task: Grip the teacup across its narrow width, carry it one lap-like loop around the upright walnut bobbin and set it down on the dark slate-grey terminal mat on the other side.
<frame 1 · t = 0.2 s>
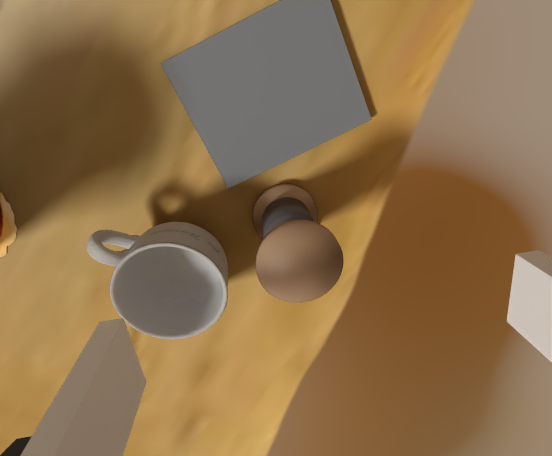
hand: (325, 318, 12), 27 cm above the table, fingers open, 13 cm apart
teacup: (171, 247, 41), on the table
bobbin: (284, 214, 40), on the table
pad: (270, 92, 35), on the table
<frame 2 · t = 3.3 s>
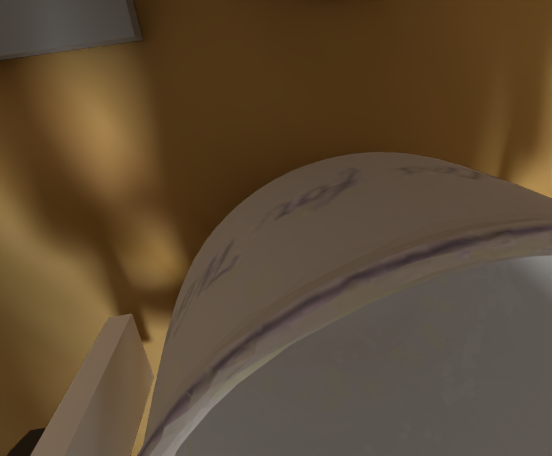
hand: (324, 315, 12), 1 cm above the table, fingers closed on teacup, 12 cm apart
teacup: (299, 300, 13), on the table, touching gripper
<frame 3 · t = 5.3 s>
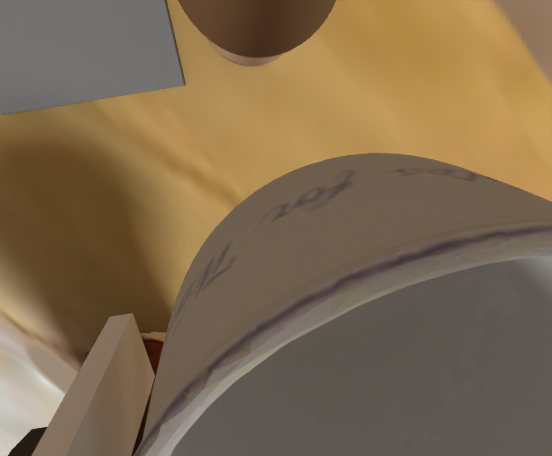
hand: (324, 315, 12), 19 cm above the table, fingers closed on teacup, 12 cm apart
teacup: (298, 300, 13), point 18 cm above the table, touching gripper
bobbin: (250, 11, 25), on the table
vessel: (148, 382, 37), on the table
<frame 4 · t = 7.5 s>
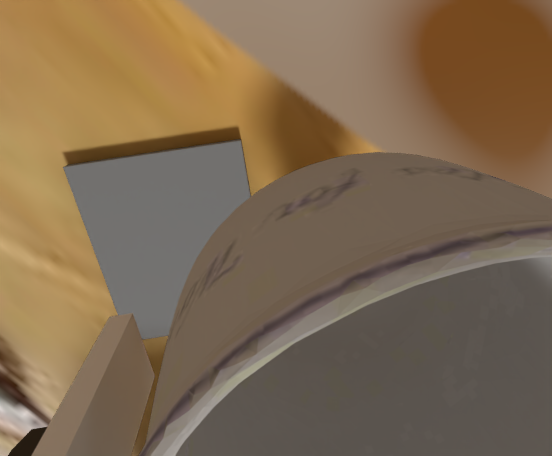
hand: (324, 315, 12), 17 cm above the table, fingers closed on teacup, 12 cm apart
teacup: (300, 300, 13), point 16 cm above the table, touching gripper
pad: (180, 247, 30), on the table
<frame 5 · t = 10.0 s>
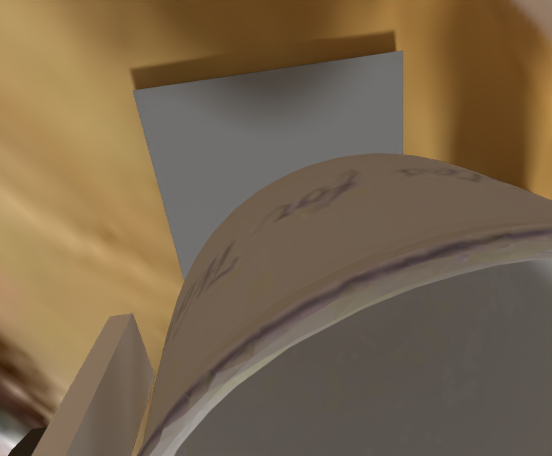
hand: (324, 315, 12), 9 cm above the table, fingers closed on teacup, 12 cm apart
teacup: (299, 301, 13), point 8 cm above the table, touching gripper
pad: (287, 219, 21), on the table
when the fingers open (2 cm above the table, at t = 12.0 s): teacup stays where it is, resting on pad.
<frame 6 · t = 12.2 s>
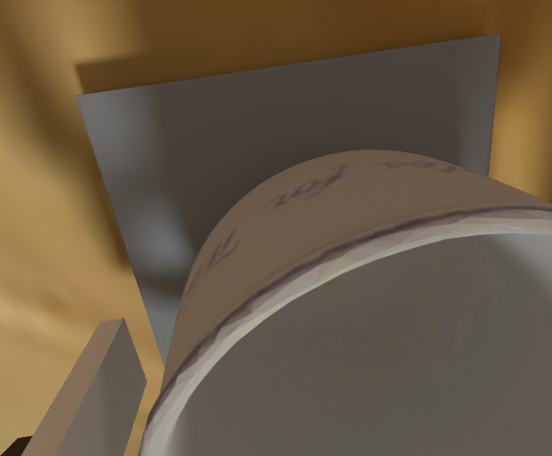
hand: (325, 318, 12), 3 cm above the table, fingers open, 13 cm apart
teacup: (299, 290, 14), point 1 cm above the table, touching pad
pad: (312, 278, 15), on the table
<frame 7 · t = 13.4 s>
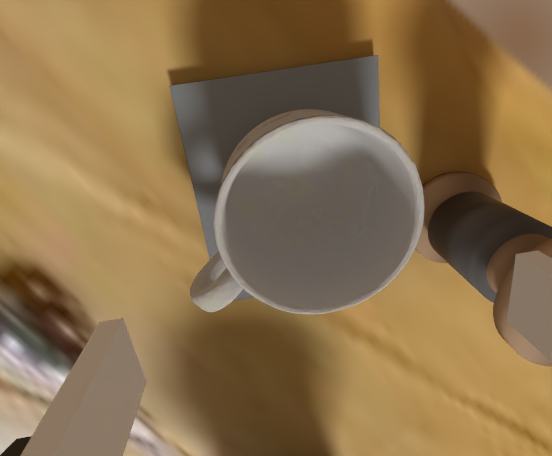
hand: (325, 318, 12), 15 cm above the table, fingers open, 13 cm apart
teacup: (280, 194, 26), point 1 cm above the table, touching pad
bobbin: (449, 216, 28), on the table
pad: (288, 190, 26), on the table
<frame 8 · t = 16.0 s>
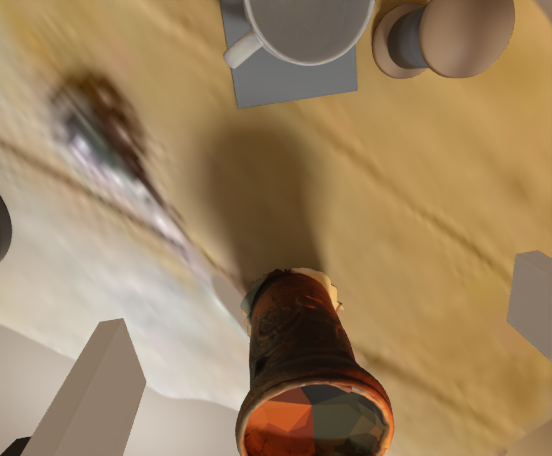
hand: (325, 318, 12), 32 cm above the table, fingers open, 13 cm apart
teacup: (282, 16, 36), point 1 cm above the table, touching pad
bobbin: (404, 42, 38), on the table
vessel: (290, 308, 50), on the table
pad: (288, 16, 37), on the table
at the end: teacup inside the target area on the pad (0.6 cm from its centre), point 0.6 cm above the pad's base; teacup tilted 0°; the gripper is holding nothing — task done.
